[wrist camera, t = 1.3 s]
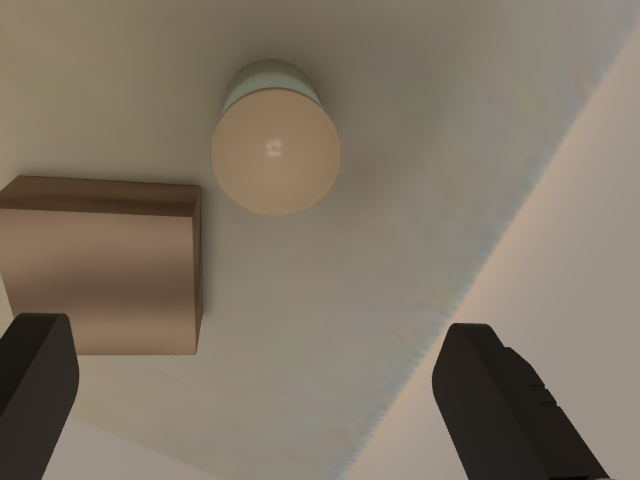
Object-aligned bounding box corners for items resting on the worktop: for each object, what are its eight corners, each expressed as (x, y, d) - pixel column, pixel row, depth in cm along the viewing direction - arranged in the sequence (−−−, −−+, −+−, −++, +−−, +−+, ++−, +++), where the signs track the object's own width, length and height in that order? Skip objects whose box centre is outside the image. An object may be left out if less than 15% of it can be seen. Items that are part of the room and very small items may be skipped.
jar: (223, 52, 23) (210, 85, 17) (324, 63, 24) (350, 98, 17) (222, 151, 26) (210, 213, 19) (313, 157, 27) (332, 219, 20)
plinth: (18, 175, 25) (-19, 207, 22) (200, 186, 27) (192, 217, 23) (51, 312, 30) (25, 355, 27) (202, 313, 32) (196, 354, 28)
